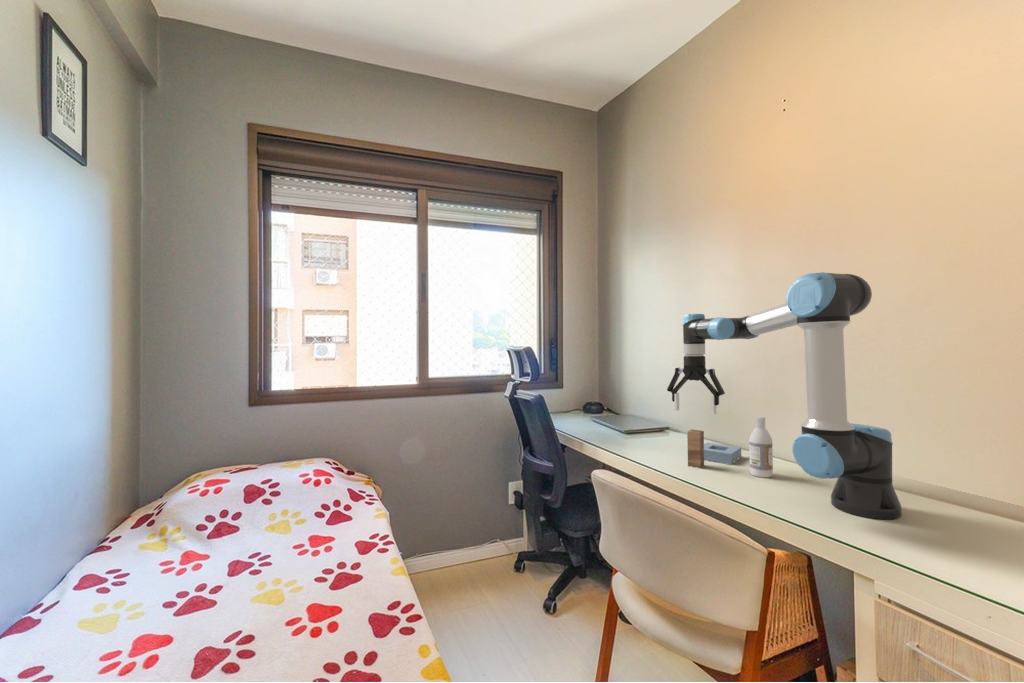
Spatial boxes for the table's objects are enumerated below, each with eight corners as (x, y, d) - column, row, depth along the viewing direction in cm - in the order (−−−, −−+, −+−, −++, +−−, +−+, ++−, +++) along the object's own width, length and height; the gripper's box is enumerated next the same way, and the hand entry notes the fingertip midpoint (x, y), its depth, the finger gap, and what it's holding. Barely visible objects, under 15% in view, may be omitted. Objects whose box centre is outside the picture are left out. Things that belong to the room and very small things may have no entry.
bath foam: (769, 479, 147) (768, 419, 147) (746, 475, 152) (745, 417, 152) (775, 474, 152) (774, 417, 152) (753, 470, 157) (752, 414, 157)
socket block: (731, 464, 164) (731, 454, 164) (695, 458, 173) (695, 448, 173) (741, 457, 174) (741, 447, 174) (707, 452, 183) (707, 442, 183)
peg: (700, 468, 161) (699, 432, 161) (687, 466, 164) (687, 431, 164) (704, 465, 164) (703, 430, 164) (692, 463, 167) (691, 429, 167)
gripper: (733, 355, 158) (734, 414, 158) (665, 354, 175) (666, 407, 175) (726, 356, 152) (727, 417, 153) (657, 355, 169) (658, 410, 170)
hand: (695, 412), depth 164 cm, fingers open, 13 cm apart
